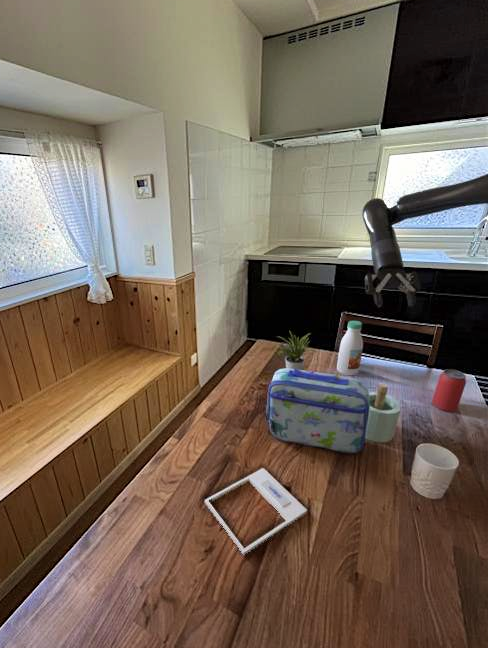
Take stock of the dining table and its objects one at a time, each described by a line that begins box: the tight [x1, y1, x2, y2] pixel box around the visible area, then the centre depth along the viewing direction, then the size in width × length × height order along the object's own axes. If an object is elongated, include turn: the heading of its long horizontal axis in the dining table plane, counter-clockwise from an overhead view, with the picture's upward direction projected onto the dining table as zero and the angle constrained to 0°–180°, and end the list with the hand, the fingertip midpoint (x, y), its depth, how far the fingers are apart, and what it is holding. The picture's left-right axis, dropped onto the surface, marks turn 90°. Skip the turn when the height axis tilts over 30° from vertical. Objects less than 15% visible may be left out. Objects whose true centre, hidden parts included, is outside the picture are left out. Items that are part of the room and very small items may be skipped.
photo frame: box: [204, 467, 308, 557], centre depth 77 cm, size 15×1×18 cm
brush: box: [374, 382, 389, 410], centre depth 95 cm, size 4×4×15 cm
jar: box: [365, 391, 402, 443], centre depth 96 cm, size 10×10×10 cm
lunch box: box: [265, 367, 370, 454], centre depth 93 cm, size 26×11×21 cm, turn 65°
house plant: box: [274, 330, 312, 370], centre depth 127 cm, size 14×14×16 cm
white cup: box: [409, 442, 460, 500], centre depth 78 cm, size 8×8×10 cm
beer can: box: [431, 368, 467, 412], centre depth 104 cm, size 7×7×12 cm
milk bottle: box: [336, 320, 364, 376], centre depth 125 cm, size 8×8×20 cm
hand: (396, 305), depth 97 cm, fingers open, 8 cm apart
